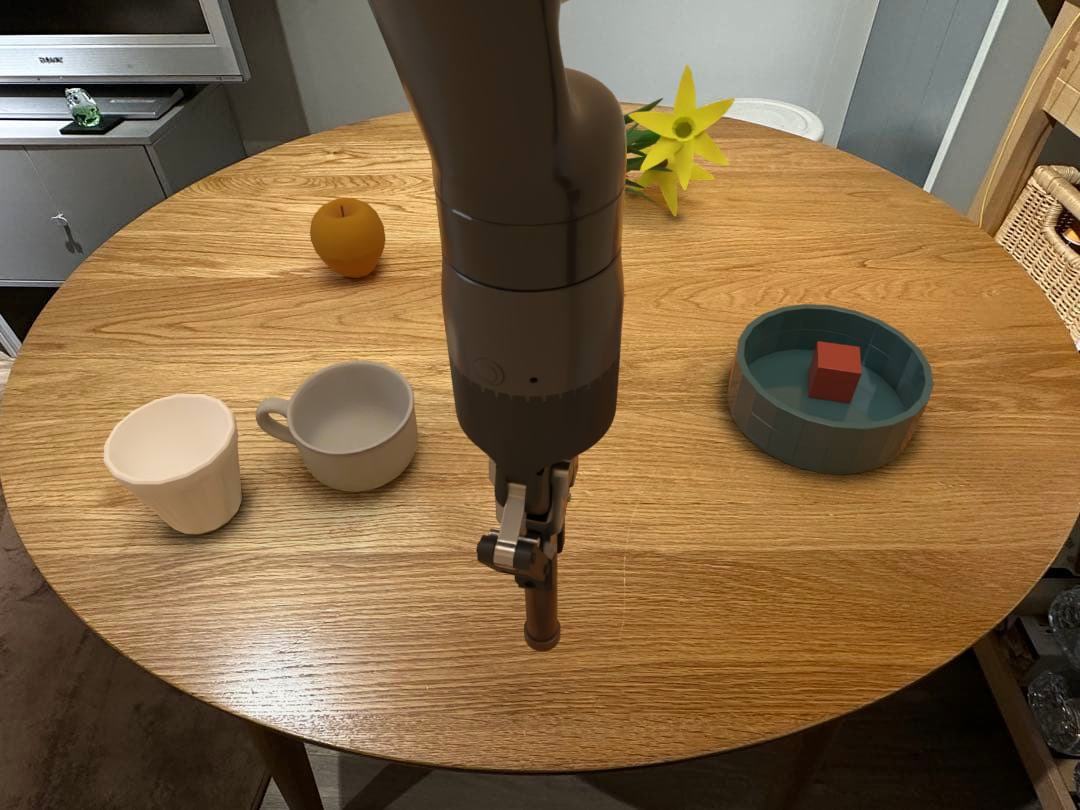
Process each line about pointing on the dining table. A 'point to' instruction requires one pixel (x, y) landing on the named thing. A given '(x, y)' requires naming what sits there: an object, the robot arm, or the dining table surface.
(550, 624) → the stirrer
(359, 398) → the teacup
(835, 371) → the block
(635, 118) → the daffodil flowers
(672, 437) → the dining table surface
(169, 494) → the cup
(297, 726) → the dining table surface
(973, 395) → the dining table surface
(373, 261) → the apple
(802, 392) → the bowl
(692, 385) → the dining table surface
